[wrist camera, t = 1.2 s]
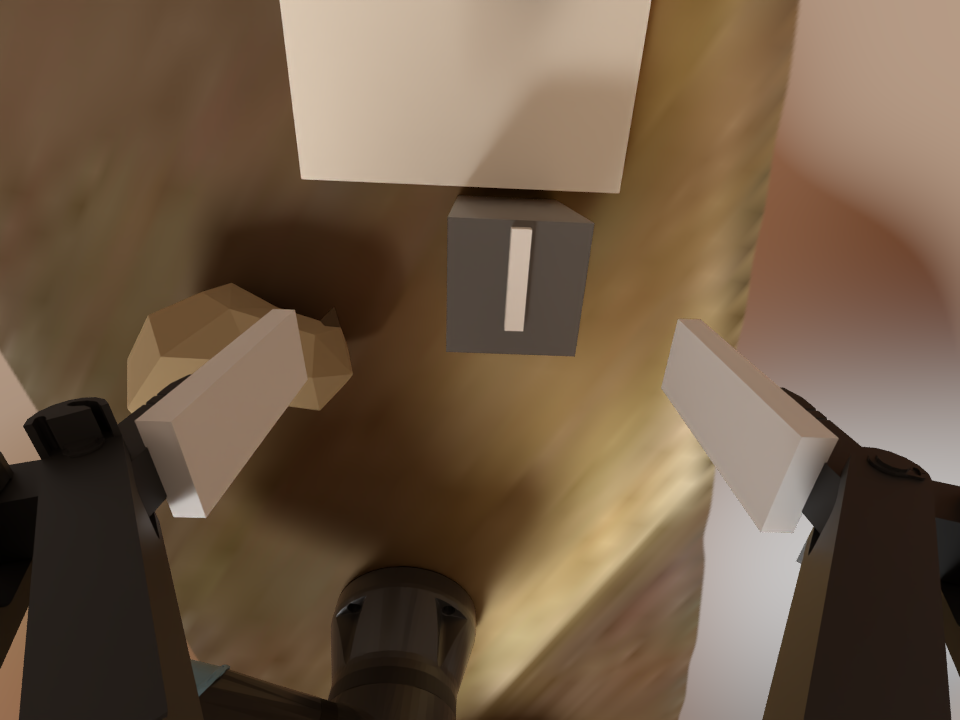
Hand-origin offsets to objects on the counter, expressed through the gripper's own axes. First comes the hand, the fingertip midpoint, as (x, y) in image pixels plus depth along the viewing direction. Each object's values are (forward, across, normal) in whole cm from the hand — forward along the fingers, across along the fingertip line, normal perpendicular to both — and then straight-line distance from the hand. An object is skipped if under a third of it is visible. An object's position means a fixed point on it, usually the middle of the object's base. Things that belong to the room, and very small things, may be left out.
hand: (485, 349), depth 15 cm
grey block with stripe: (+18, -1, 0) cm, 18 cm away
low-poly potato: (+17, +16, +8) cm, 25 cm away
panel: (+18, +2, -12) cm, 22 cm away
